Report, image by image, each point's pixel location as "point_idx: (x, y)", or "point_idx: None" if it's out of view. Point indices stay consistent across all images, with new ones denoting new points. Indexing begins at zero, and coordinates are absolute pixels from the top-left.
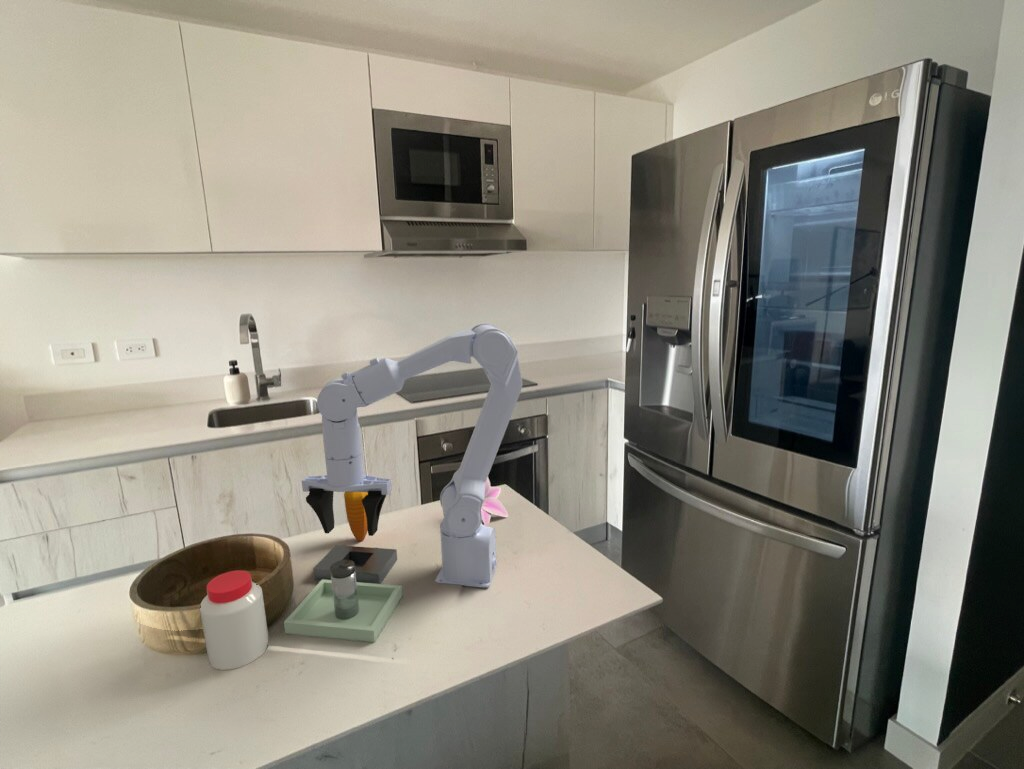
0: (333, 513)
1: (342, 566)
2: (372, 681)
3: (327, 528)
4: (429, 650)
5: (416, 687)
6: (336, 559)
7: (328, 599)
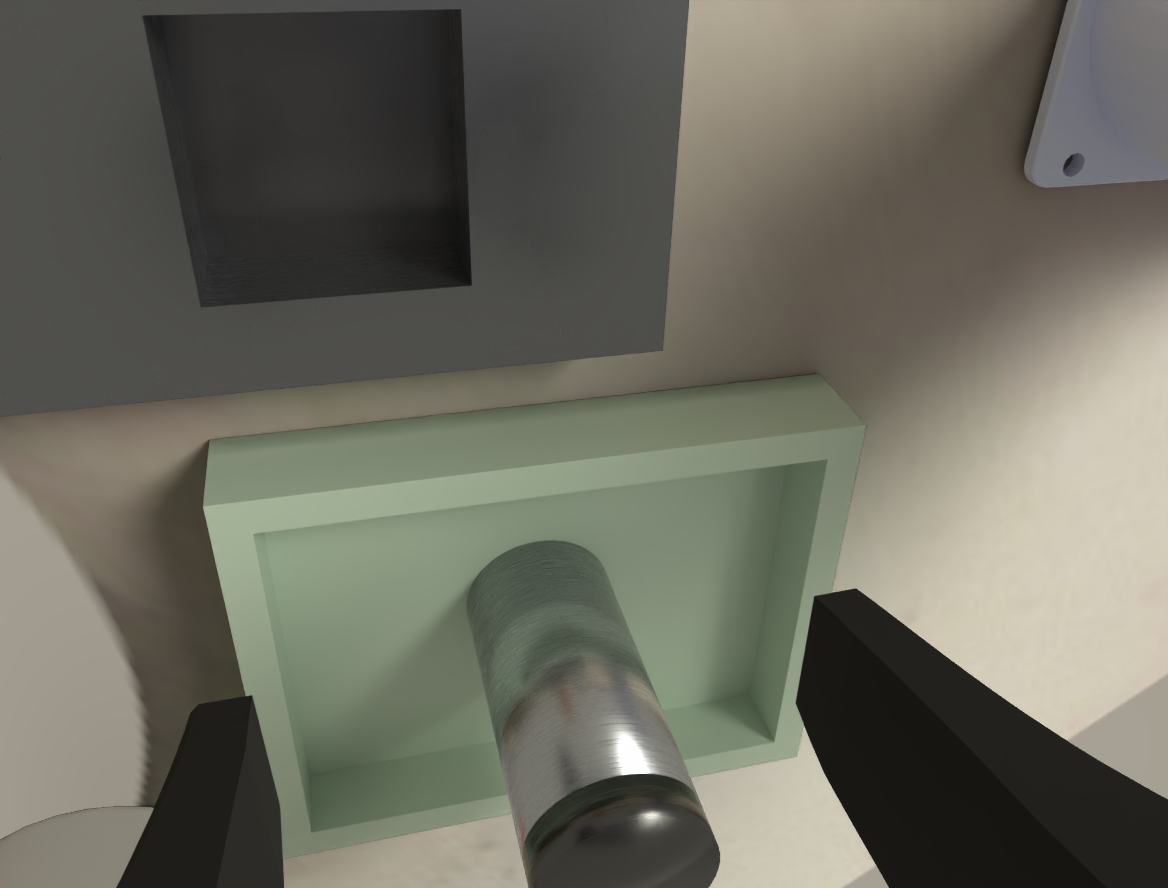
0: (227, 853)
1: (631, 885)
2: (806, 812)
3: (281, 881)
4: (999, 646)
5: None
6: (106, 217)
7: (340, 540)
